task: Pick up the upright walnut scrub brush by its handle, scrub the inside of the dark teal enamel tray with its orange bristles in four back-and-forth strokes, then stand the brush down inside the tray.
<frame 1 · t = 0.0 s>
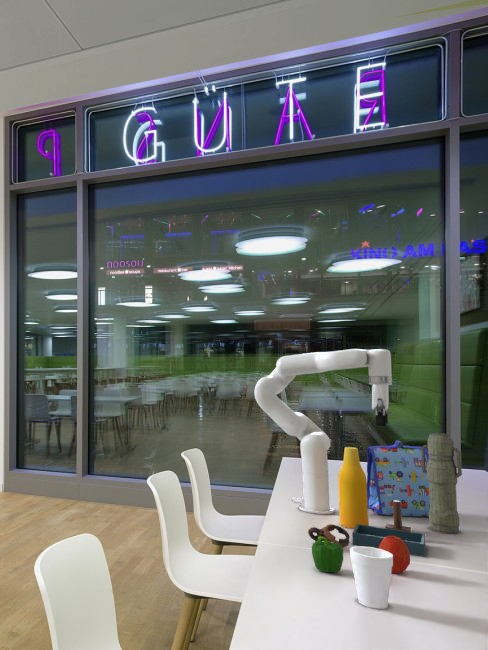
hand: (382, 424, 234), 37 cm above the table, tool pointing down, fingers open, 9 cm apart
foam cup: (373, 604, 154), on the table
brown twisted loop: (328, 547, 200), on the table
bell pepper: (327, 571, 178), on the table
tray: (389, 545, 201), on the table
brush: (398, 537, 211), on the table
lunch bag: (401, 513, 243), on the table
beer bottle: (354, 526, 224), on the table
thermos: (444, 530, 219), on the table
apple: (394, 572, 177), on the table
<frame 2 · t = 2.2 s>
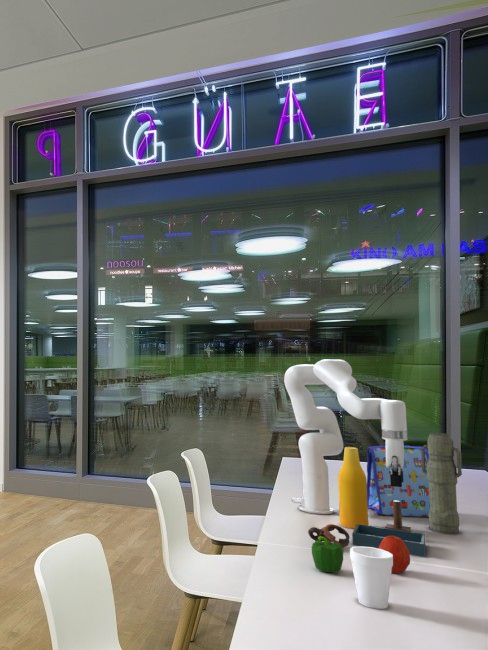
hand: (397, 484, 211), 18 cm above the table, tool pointing down, fingers open, 9 cm apart
nothing on the table moved.
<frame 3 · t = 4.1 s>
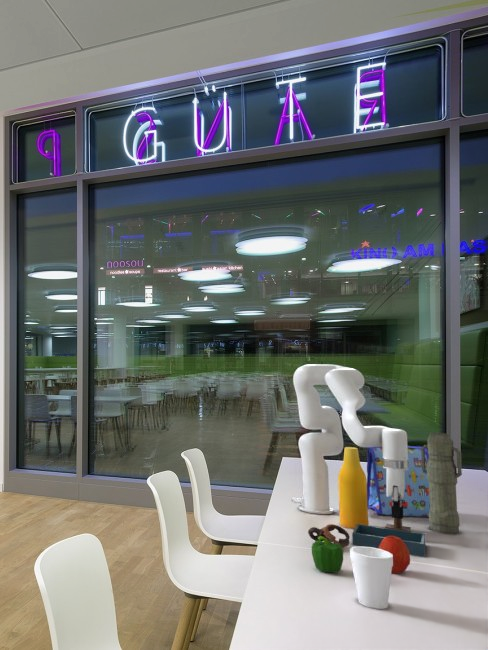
hand: (397, 516, 211), 7 cm above the table, tool pointing down, fingers closed on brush, 2 cm apart
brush: (398, 537, 211), on the table, touching gripper
everything else where it was.
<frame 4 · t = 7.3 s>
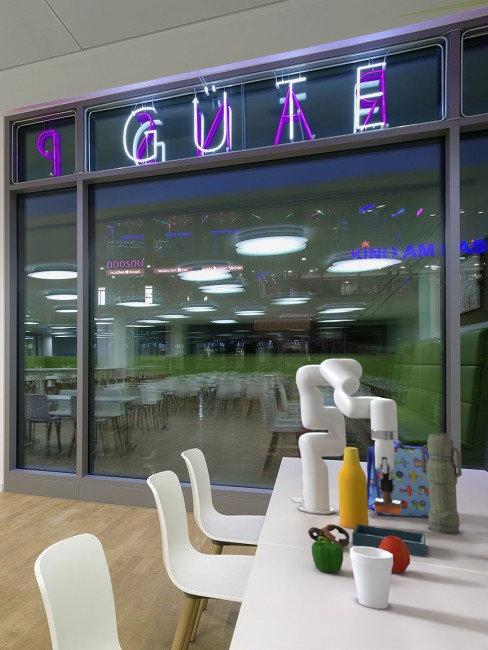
hand: (387, 490, 202), 18 cm above the table, tool pointing down, fingers closed on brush, 2 cm apart
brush: (388, 511, 201), point 11 cm above the table, touching gripper
everything else where it was.
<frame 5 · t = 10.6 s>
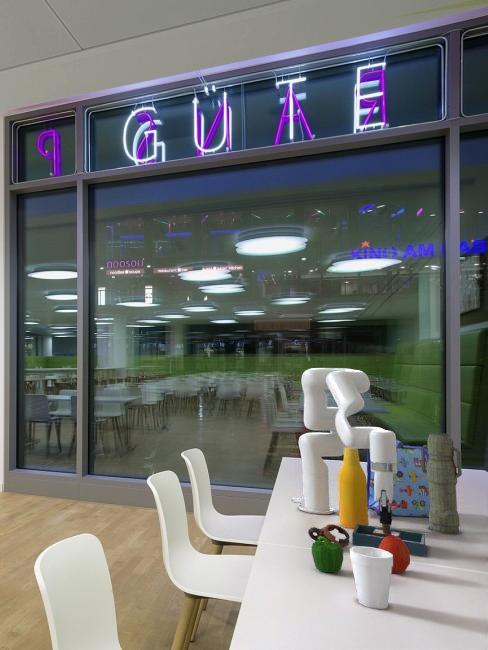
hand: (386, 522, 201), 8 cm above the table, tool pointing down, fingers closed on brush, 2 cm apart
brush: (387, 543, 200), point 1 cm above the table, touching gripper, tray
everything else where it was.
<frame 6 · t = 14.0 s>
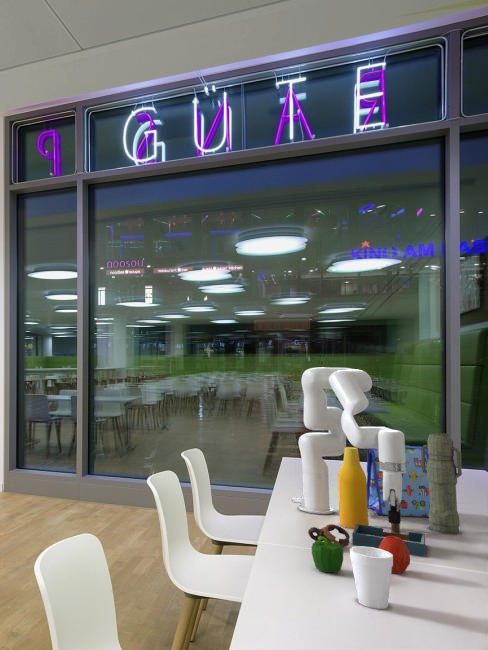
hand: (394, 521, 202), 8 cm above the table, tool pointing down, fingers closed on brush, 2 cm apart
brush: (396, 542, 201), point 1 cm above the table, touching gripper
everything else where it was.
when the fingers open (8 cm above the table, at t = 17.2 s): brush stays where it is, resting on tray.
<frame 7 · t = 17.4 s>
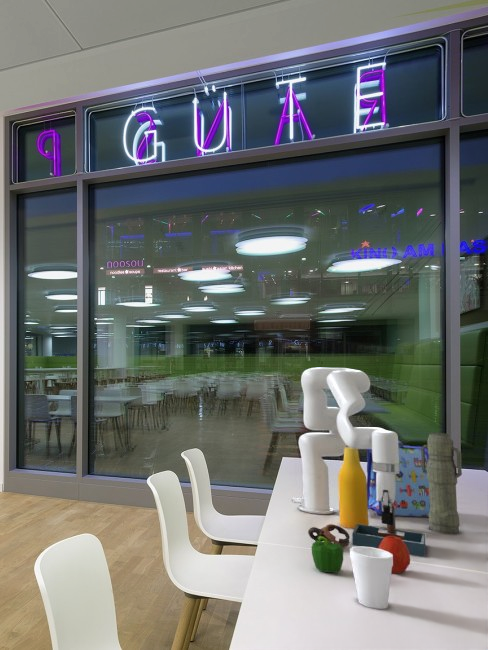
hand: (388, 521, 202), 8 cm above the table, tool pointing down, fingers open, 4 cm apart
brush: (391, 542, 201), point 1 cm above the table, touching tray
everything else where it was.
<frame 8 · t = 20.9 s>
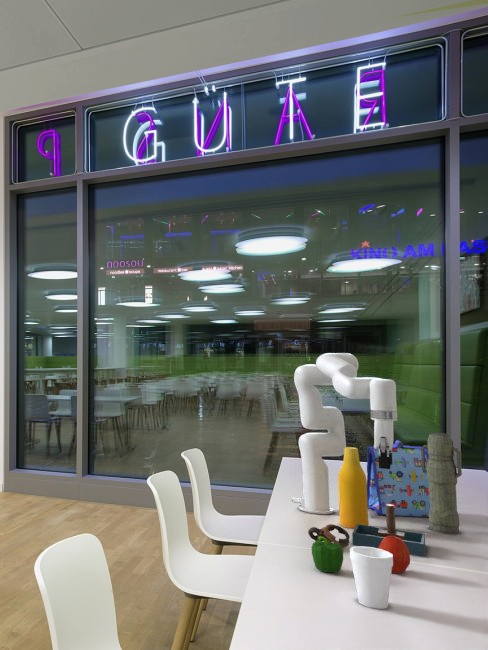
hand: (385, 466, 203), 26 cm above the table, tool pointing down, fingers open, 9 cm apart
nothing on the table moved.
at the end: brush inside the target area in the tray (0.8 cm from its centre), point 1.0 cm above the tray's base; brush tilted 0°; the gripper is holding nothing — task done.
